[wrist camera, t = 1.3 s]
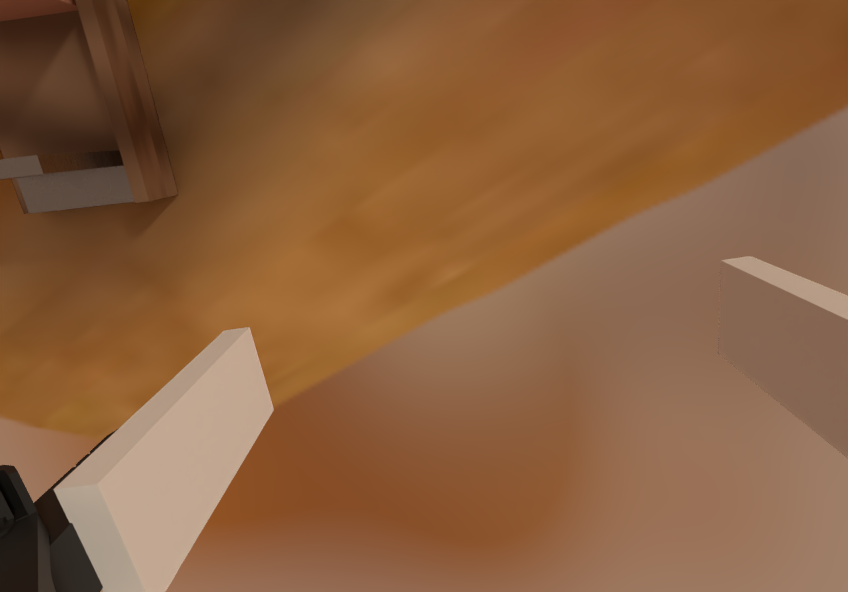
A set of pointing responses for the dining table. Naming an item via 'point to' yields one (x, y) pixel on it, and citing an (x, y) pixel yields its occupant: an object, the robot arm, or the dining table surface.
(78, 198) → the bookend
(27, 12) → the rust book
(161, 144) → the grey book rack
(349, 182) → the dining table surface
